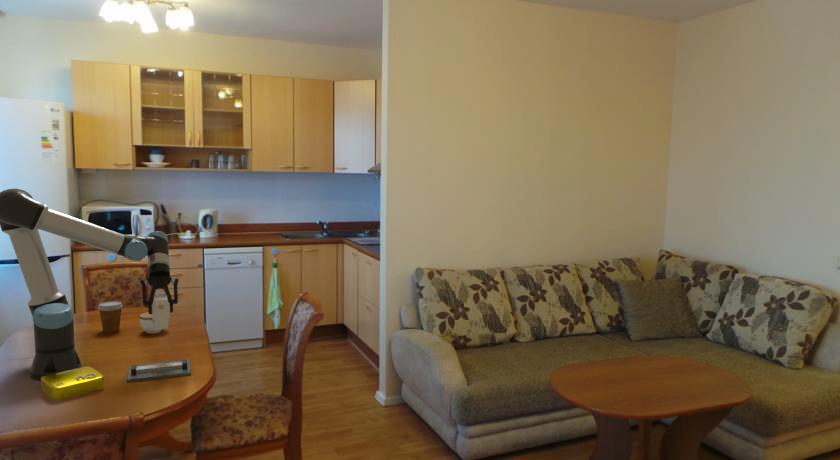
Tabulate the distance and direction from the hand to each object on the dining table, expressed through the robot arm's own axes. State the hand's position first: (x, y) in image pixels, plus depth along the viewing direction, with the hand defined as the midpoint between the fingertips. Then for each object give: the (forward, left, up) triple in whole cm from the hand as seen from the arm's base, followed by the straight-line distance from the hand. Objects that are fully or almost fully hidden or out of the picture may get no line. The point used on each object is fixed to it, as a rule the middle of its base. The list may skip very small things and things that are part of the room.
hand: (161, 320), depth 207 cm
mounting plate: (-6, -6, -17) cm, 19 cm away
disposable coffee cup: (+18, +54, -17) cm, 59 cm away
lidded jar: (+26, +37, -17) cm, 48 cm away
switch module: (+2, +3, -3) cm, 5 cm away
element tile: (-30, +6, -17) cm, 35 cm away
